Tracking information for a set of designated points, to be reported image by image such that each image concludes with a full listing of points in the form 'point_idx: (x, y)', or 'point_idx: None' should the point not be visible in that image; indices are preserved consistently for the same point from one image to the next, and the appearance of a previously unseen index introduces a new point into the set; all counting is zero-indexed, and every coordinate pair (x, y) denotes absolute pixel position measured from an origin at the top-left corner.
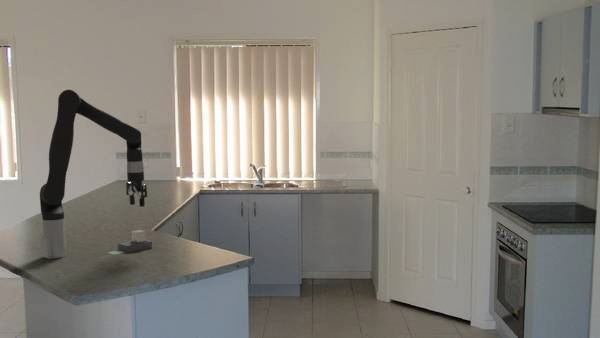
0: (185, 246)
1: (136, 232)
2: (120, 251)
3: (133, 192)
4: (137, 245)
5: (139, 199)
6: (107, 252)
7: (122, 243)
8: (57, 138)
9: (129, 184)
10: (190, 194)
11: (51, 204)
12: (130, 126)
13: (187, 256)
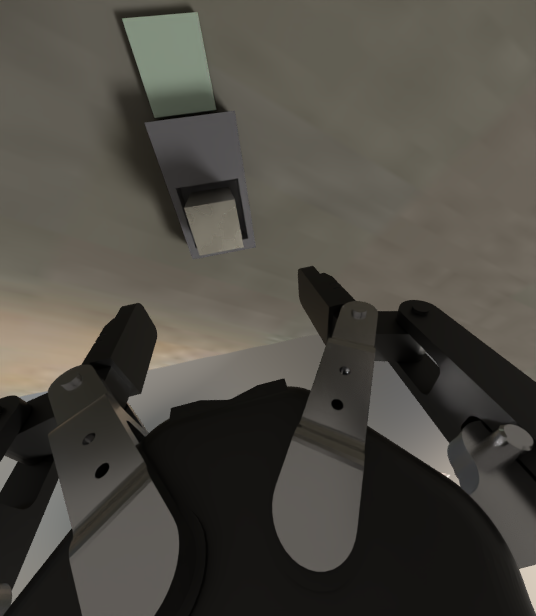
0: (180, 331)
1: (186, 208)
2: (186, 103)
3: (268, 385)
4: (169, 190)
5: (108, 352)
6: (197, 16)
7: (220, 132)
8: None
9: (527, 501)
10: None
11: None
12: None
13: (19, 302)
